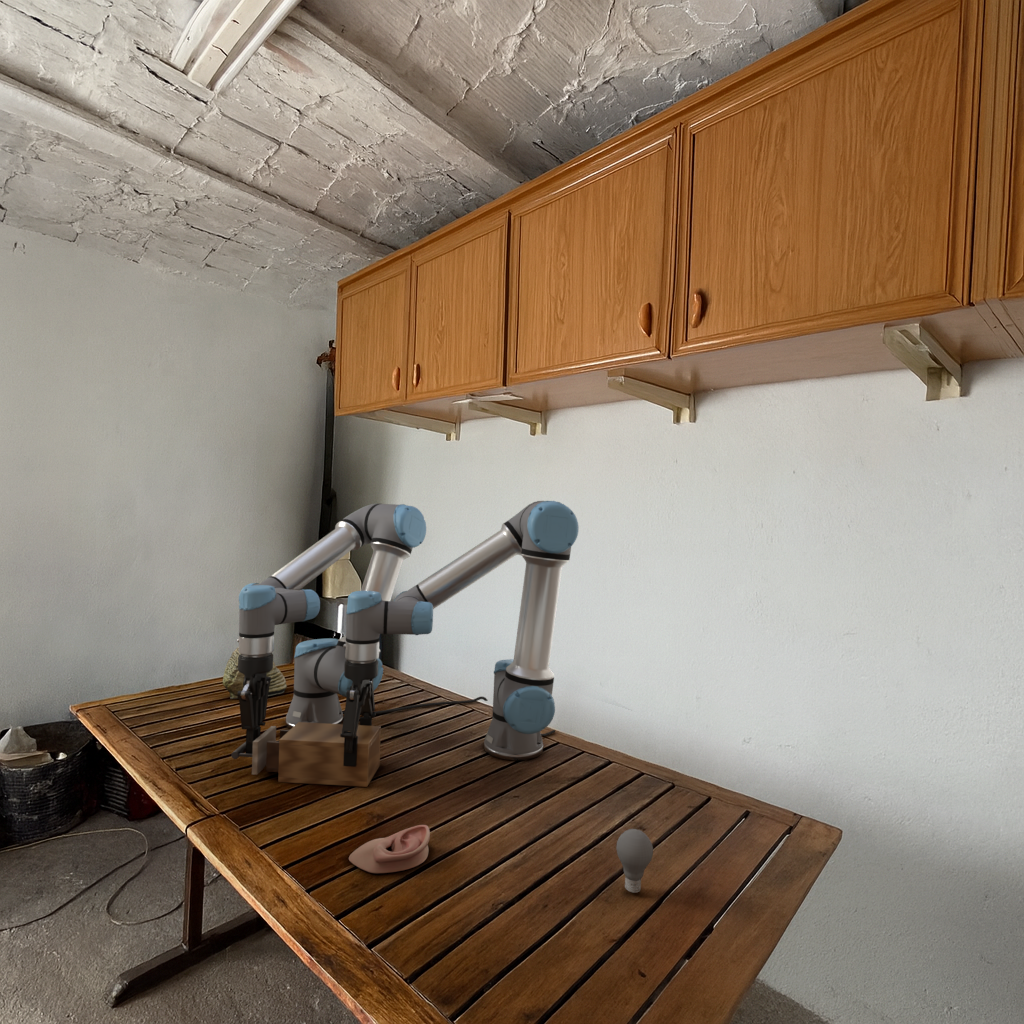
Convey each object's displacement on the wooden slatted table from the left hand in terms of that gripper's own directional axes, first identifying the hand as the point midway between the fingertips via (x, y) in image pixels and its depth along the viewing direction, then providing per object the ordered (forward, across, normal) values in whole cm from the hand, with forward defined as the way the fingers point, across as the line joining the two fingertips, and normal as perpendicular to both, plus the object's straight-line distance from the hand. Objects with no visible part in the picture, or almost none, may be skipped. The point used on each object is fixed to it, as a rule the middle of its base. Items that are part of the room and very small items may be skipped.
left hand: (252, 755), depth 146 cm
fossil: (+3, -52, -22) cm, 57 cm away
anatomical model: (+3, +32, +39) cm, 51 cm away
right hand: (-1, 0, +24) cm, 24 cm away
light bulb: (+4, +38, +81) cm, 89 cm away
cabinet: (+3, 0, +18) cm, 19 cm away
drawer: (+2, 0, +9) cm, 9 cm away
